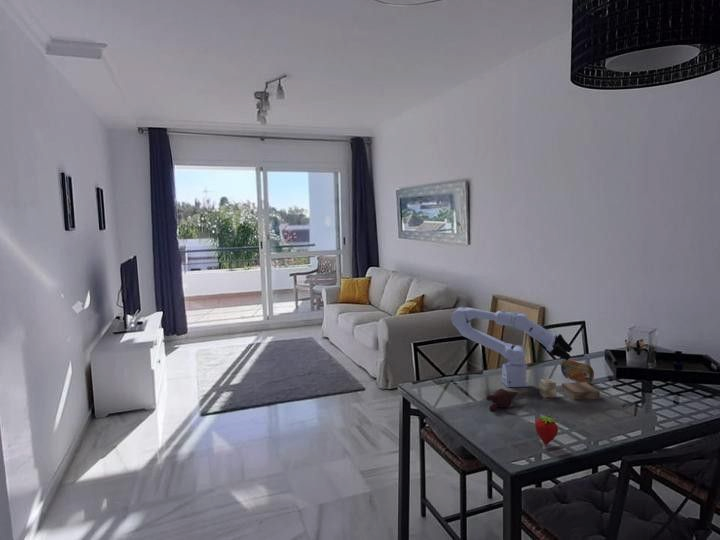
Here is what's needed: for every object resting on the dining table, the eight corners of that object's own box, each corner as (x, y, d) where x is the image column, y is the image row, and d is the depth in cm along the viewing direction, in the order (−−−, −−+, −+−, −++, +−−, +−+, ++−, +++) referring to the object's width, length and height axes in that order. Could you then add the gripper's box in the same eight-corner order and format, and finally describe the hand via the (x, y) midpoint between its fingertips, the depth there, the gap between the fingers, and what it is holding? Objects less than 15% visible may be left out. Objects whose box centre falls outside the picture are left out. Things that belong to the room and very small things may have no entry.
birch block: (544, 398, 181) (544, 383, 181) (539, 393, 186) (540, 379, 185) (555, 397, 181) (556, 382, 181) (550, 393, 186) (551, 378, 185)
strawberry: (544, 437, 149) (545, 406, 148) (562, 447, 142) (563, 415, 141) (529, 440, 147) (530, 409, 146) (547, 451, 140) (547, 419, 139)
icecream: (508, 383, 180) (479, 393, 173) (522, 383, 174) (493, 395, 167) (512, 400, 180) (483, 412, 173) (527, 402, 173) (497, 414, 166)
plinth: (573, 399, 179) (574, 392, 179) (561, 390, 189) (561, 383, 188) (599, 398, 179) (599, 391, 179) (585, 389, 189) (586, 382, 189)
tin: (560, 376, 206) (560, 357, 205) (565, 375, 208) (565, 356, 207) (589, 386, 193) (590, 366, 192) (595, 385, 194) (595, 365, 193)
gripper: (543, 333, 184) (574, 354, 180) (548, 320, 196) (577, 340, 192) (533, 346, 187) (563, 367, 183) (538, 333, 199) (567, 352, 195)
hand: (570, 354), depth 188 cm, fingers open, 7 cm apart
